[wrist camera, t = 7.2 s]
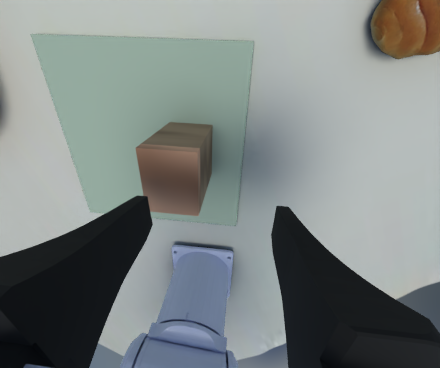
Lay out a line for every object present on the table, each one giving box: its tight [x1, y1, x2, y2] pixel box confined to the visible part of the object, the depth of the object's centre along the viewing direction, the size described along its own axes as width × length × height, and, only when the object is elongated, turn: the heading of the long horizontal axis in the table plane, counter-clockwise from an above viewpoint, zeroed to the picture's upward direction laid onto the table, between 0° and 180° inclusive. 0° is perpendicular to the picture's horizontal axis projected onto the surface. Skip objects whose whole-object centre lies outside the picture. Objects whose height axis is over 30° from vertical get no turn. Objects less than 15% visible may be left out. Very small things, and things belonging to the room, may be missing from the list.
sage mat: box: [30, 34, 254, 226], centre depth 21 cm, size 18×18×1 cm
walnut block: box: [135, 122, 213, 216], centre depth 17 cm, size 5×4×7 cm
